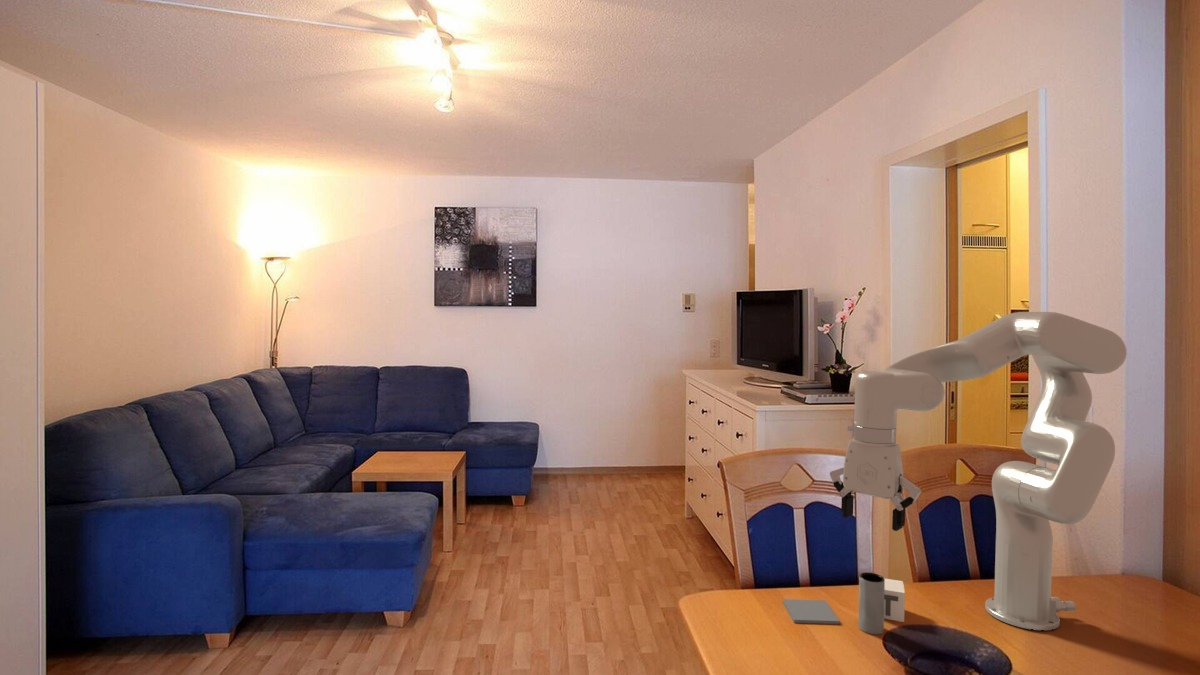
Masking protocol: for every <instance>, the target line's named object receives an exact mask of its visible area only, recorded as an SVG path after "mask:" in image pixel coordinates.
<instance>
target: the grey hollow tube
mask: <svg viewBox="0 0 1200 675" xmlns="http://www.w3.org/2000/svg"><path fill="white" fill-rule="evenodd" d="M858 576H859V579H858V580H859V582H858V622H857V623H858V628H859V630H861V631H862V632H864V633H867V634H871V635H880V634H883V633H884V628H885V627H884V626H885V625H884V624H885V619H884V590H885V579H886V578H885V577H884V576H882V575H880V574H878V573H875V572H861V573H859V575H858ZM884 578H885V579H884Z"/></svg>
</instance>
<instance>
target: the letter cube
mask: <svg viewBox="0 0 1200 675" xmlns="http://www.w3.org/2000/svg"><path fill="white" fill-rule="evenodd" d="M883 578H884V579H885V590H884V620H891V621H895V622H901V623H902V622H903V623H905V603H906V602H905V600H906V597H905V596H906V595H905V594H906V591H905V586H904V581H903V580H898V579H897V580H896V579H890V578H885V577H883Z"/></svg>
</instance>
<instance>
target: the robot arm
mask: <svg viewBox="0 0 1200 675" xmlns="http://www.w3.org/2000/svg"><path fill="white" fill-rule="evenodd" d="M1029 355H1031V356H1032V359H1033V361H1034V363H1035V365H1036V367H1037V369H1038V371H1039V375H1040V377H1041V383H1042V387H1041V392H1040V394H1039V396H1038V399H1037V402H1036V404H1035V405H1034V408H1033V410H1032V412H1031V414H1030V416H1029V419H1028V420H1027V422H1026V424H1025V427H1024V429H1023V431H1022V435H1021V438H1020V447H1021V448H1022V450H1023V451H1024V452H1025V454H1027V455H1028V456H1030V457H1032V458H1034V459H1037V460H1040V461H1042V462H1045V463H1049V464H1053V465H1057V468H1056V469H1051V468H1048V467H1046V466H1041V465H1038V464H1034V463H1031V462H1027V461H1022V460H1012V461H1011V460H1010V461H1006V462H1003V463H1001V464H1000V465H999V466H997V468H996V469H995V470H994V472H993V474H992V479H991V492H992V496H993V502H994V507H995V518H996V521H995V522H996V525H995V528H996V529H995V530H996V531H995V558H994V559H995V562H994V564H995V565H994V595H993V597H990V598H988V599H986V601H984V603H985V604H984V605H985V606H984V608H985V610H986V612H987V613H988V614H989V615H990V616H992V617H994V618H995V619H997V620H999V621H1001V622H1002V623H1003V622H1004V623H1005V624H1008V625H1011V626H1014V627H1017V628H1021V629H1026V630H1031V629H1033V630H1032V631H1041V630H1044V631H1052V629H1053V630H1056V629H1058V628H1059V627H1060V622H1061V621H1060V620H1061V619H1060V617H1059V615H1058V614H1057V613H1060V612H1061V611H1063V612H1076V610H1077V606H1076V604H1075V602H1074V601H1073V600H1072V601H1071V600H1061V599H1060V598H1059V597H1058V596H1052V572H1053V571H1052V570H1053V565H1052V564H1053V543H1054V540H1053V539H1054V537H1053V529H1052V526H1051V523H1050V521H1051V522H1054V523H1058V524H1061V525H1076V524H1078V523H1080V522H1082V521H1083V520H1084V519H1085V518H1087V516H1088V515H1089V513H1090V511H1091V510H1092V508H1093V506H1094V504H1095V502H1096V500H1097V498H1098V497H1099V494H1100V492H1101V490H1102V487H1103V485H1104V483H1105V482H1106V479H1107V478H1108V475H1109V473H1110V470H1111V468H1112V466H1113V464H1114V460H1115V456H1116V445H1115V440H1114V438H1113V436H1112V435H1111V433H1110V432H1109V431H1108V430H1107V429H1106V428H1105V427H1103V426H1101V425H1099V424H1097V423H1094V422H1089V421H1086V419H1087V417H1088V415H1089V411H1090V409H1091V406H1092V403H1093V396H1092V395H1093V394H1092V390H1091V387H1090V384H1089V382H1088V380H1087V378H1086V376H1085V375H1084V373H1086V374H1095V375H1105V374H1109V373H1110V374H1111V373H1114V372H1115V371H1117V370H1118V369H1119V368H1121V366H1122V365H1124V363H1125V361H1126V359H1127V348H1126V344H1125V342H1124V340H1123V339H1122V337H1120V336H1119V335H1118V334H1117V333H1116V332H1114V331H1112V330H1109V329H1107V328H1104V327H1101V326H1098V325H1096V324H1093V323H1089V322H1087V321H1084V320H1081V319H1078V318H1075V317H1073V316H1070V315H1068V314H1063V313H1060V312H1055V311H1017V312H1012V313H1008V314H1005V315H1003V316H1002V317H999V318H997V319H996V320H994V321H992V322H990V323H988V324H986V325H984V326H982V327H981V328H979V329H977V330H974V331H973V332H971V333H969V334H967V335H965V336H963V337H961V338H959V339H956V340H954V341H951V342H946V343H944V344H941V345H937V346H935V347H932V348H928V349H925V350H922V351H919V352H916V353H914V354H911V355H909V356H906V357H904V358H902V359H900V360H898V361H897V362H894V363H892V364H891V365H889V366H887V367H885V368H884V369H883V370H881V371H872V370H870V371H869V370H868V371H861V372H859V373H858V374H857V375H856V376H855V383H854V385H855V386H854V414H853V415H854V416H853V417H854V421H853V422H854V423H853V425H848V426H847V432H848V433H850V434H852V438H850V439H849V441H848V444H847V448H846V451H845V457H844V465H843V467H841V468H838V469H834V470H832V471H830V472H829V476H830V478H831V481H832V482H833V486H834V488H835V489H836V490H837V492H838V495H839V497H840V498H841V506H840V507H841V512H842V518H845V519H846V518H849V517H851V516H853V515H854V495H853V492H854V493H858V494H862V495H866V496H871V497H875V498H879V499H880V498H881V499H884V500H886V499H887V500H890V502H891V503H892V504H893V506H894V507H895V508H894V509H893V510H892V520H891V522H892V523H891V524H892V525H891V529H892V530H893V531H895V532H898V531H900V530H901V529H902V528H903V527H904V526H905V524H906V509H907V508H909V507H910V506H911V505H913V504H914V503H916V501H917V499H918V498H919V497H920V495H921V494H922V489H921V488H920V487H919V486H917V485H916V484H914V483H913V482H912V481H910V480H908V479H907V478H906V477H904V468H903V460H902V452H901V448H900V444H898V443H897V418H898V410H908V411H915V412H926V411H932V410H934V409H935V408H937V407H939V406H940V404H942V402H943V401H944V399H945V393H946V392H945V387H944V385H943V383H947V382H949V383H950V382H960V381H971V380H975V379H976V380H977V379H981V378H984V377H987V376H988V375H991V374H992V373H994V372H996V371H998V370H999V369H1001V368H1003V367H1005V366H1006V365H1009V364H1010V363H1012V362H1014V361H1016V360H1018V359H1020V358H1021V357H1024V356H1029ZM841 476H842V480H841ZM904 489H905V490H906V491H908V492H909V494H908V496H907V497H906V498H905V497H904V496H903V495H902V493H903V492H904Z"/></svg>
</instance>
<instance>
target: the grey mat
mask: <svg viewBox="0 0 1200 675" xmlns="http://www.w3.org/2000/svg"><path fill="white" fill-rule="evenodd" d="M782 604H783V605H784V607H785V606H786V607H785V609H786V610H788V611H787V612H788V614H789V616H790V619H791V620H792V622H793V623H796V624H824V625H825V624H828V625H834V624H835V625H841V624H840V623H841V620H840V619H839V618H838V616H837V615H836V614H835V612H834V610H833V609H832V608H831V606H830V605H829V602H827V600H825V599H823V600H822V599H798V598H797V599H794V598H788V599H787V598H783V599H782Z"/></svg>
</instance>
